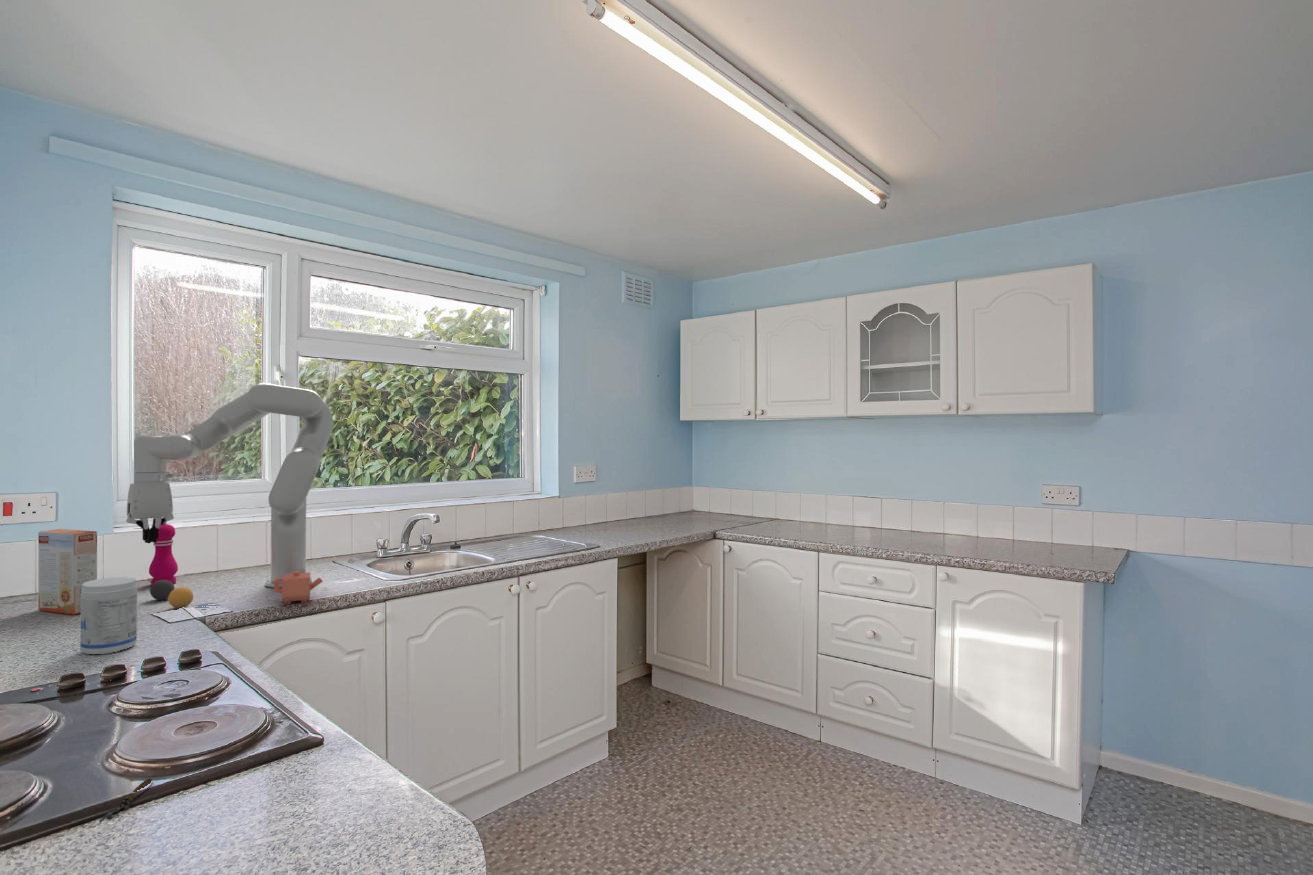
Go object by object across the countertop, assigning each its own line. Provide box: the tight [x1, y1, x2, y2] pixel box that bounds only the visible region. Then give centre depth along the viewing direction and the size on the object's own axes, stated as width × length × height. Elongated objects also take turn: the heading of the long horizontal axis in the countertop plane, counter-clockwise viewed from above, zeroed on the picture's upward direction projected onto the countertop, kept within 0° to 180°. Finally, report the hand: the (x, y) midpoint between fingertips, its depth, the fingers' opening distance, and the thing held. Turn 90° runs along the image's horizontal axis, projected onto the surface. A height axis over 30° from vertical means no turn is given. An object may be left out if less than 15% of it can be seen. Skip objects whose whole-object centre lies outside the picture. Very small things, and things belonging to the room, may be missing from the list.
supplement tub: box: [80, 576, 138, 656], centre depth 148 cm, size 10×10×15 cm
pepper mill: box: [148, 521, 179, 586], centre depth 210 cm, size 7×7×20 cm
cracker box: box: [37, 528, 98, 616], centre depth 179 cm, size 14×6×21 cm, turn 71°
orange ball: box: [167, 586, 194, 609], centre depth 182 cm, size 6×6×6 cm
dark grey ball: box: [149, 580, 175, 601], centre depth 190 cm, size 6×6×6 cm
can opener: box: [99, 778, 153, 823], centre depth 87 cm, size 9×2×1 cm, turn 2°
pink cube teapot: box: [273, 571, 323, 605], centre depth 190 cm, size 8×12×8 cm, turn 116°
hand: (150, 542), depth 196 cm, fingers closed
